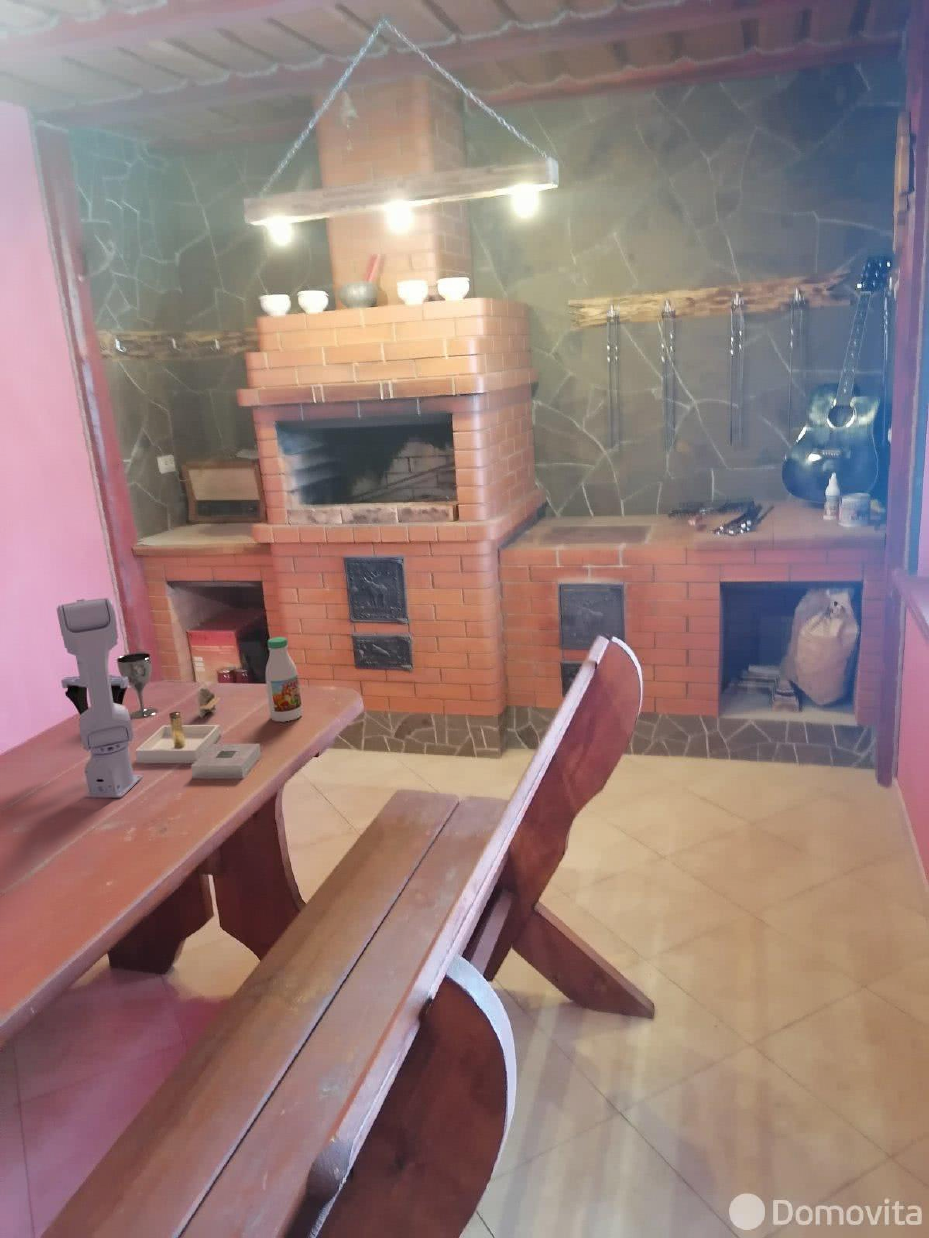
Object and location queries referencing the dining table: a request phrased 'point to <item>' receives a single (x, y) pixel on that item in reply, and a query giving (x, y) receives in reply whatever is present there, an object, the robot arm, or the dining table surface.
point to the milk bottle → (282, 682)
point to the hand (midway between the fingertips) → (101, 717)
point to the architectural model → (206, 700)
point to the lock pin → (177, 730)
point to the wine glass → (137, 678)
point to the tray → (164, 751)
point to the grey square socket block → (226, 761)
